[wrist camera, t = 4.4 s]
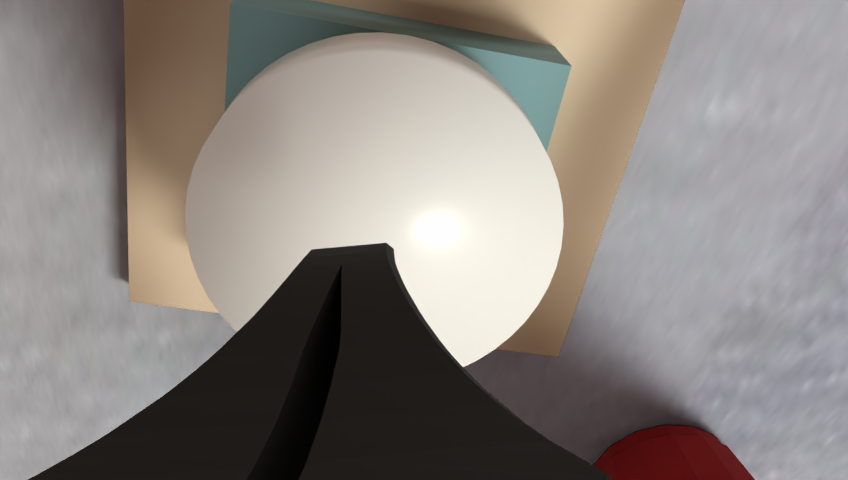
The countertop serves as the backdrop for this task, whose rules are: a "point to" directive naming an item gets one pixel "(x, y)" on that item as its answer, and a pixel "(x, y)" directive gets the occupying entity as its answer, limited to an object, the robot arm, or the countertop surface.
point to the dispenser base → (574, 148)
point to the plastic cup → (671, 456)
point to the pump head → (380, 185)
